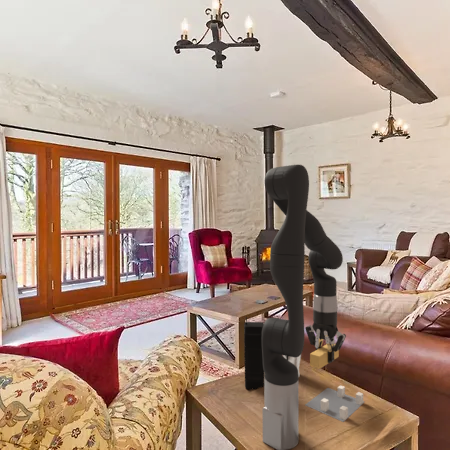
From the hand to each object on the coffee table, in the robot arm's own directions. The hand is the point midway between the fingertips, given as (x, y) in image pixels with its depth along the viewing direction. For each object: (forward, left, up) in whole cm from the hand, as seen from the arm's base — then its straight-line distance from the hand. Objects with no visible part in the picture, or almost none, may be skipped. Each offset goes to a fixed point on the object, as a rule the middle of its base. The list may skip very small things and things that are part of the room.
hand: (324, 360), depth 114 cm
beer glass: (+7, +18, -14) cm, 24 cm away
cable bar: (0, 0, 0) cm, 0 cm away
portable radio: (-7, +24, -14) cm, 28 cm away
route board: (0, -3, -14) cm, 14 cm away
